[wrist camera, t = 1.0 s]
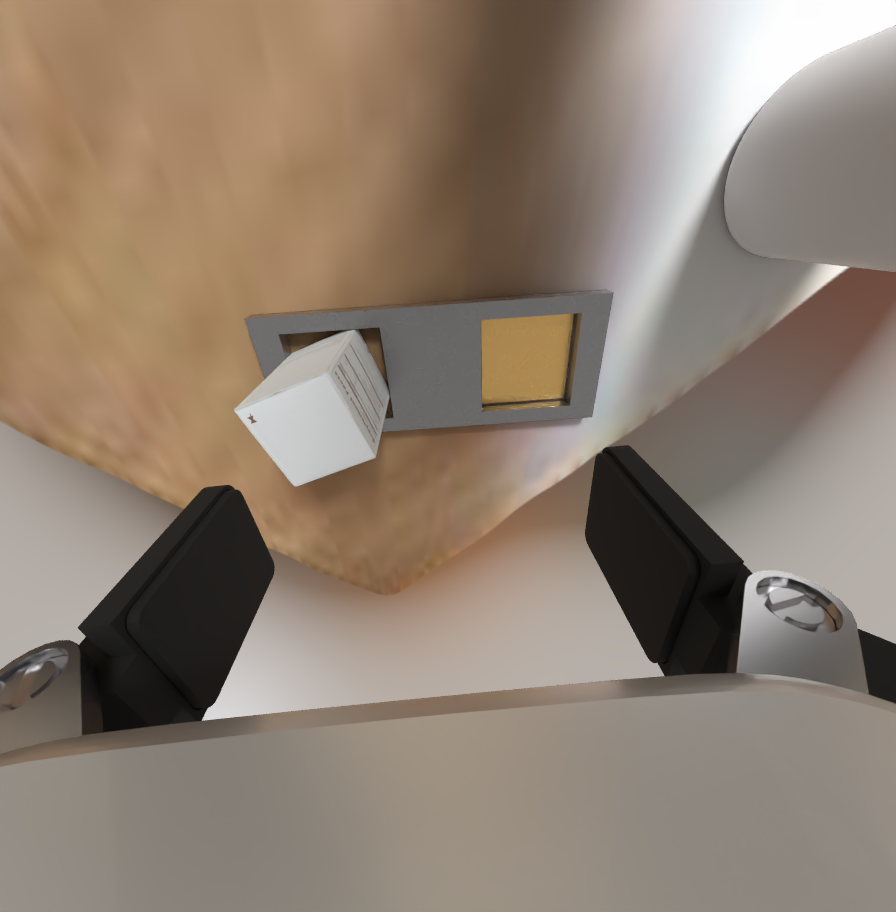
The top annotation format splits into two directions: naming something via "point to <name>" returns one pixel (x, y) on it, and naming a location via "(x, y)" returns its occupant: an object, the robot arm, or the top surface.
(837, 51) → the cylinder vase
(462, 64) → the top surface
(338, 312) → the grey flat plate
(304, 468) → the supplement box
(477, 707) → the robot arm
